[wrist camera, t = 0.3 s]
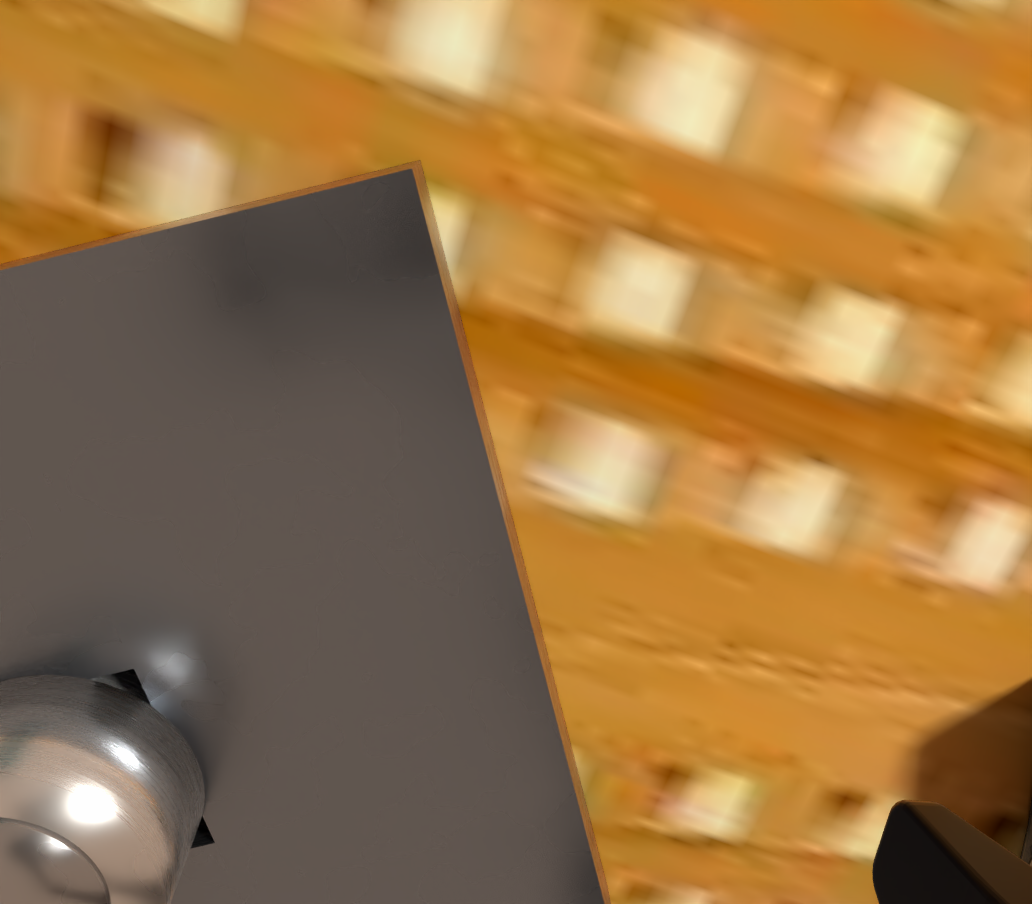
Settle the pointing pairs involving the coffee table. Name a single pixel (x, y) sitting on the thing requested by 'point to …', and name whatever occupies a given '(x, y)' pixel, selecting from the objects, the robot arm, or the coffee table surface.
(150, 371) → the bore block
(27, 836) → the end cover
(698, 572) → the coffee table surface
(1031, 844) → the mobile phone
